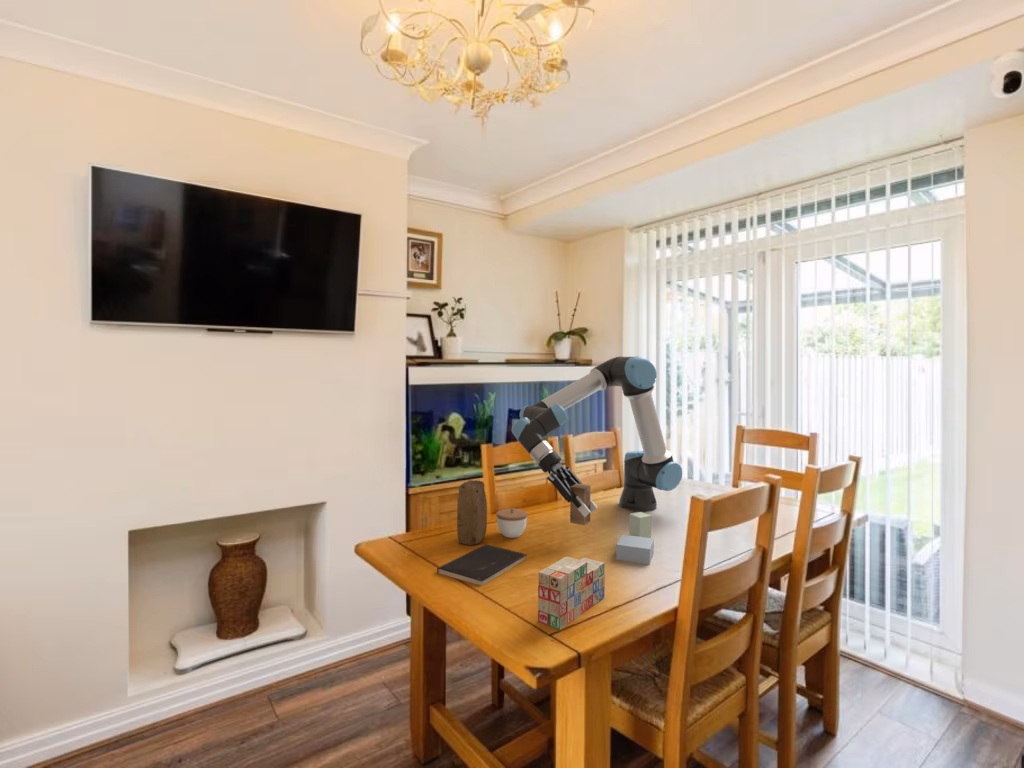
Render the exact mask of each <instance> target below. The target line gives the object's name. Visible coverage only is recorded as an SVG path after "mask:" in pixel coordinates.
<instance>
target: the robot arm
mask: <svg viewBox="0 0 1024 768" xmlns="http://www.w3.org/2000/svg"><path fill="white" fill-rule="evenodd" d="M654 364H655V363H653V362H652V361H651V360H650V359H648V358H646V357H643V356H638V355H637V356H636V355H635V356H615V357H611V358H610V359H608V360H606V361H604V362H602V363H600V364H599V365H596V366H595V367H593V368H591V369H590V371H589V373H588V374H585V375H584V376H583V377H581V378H579V379H577V380H575V381H574V382H572V383H570V384H568V385H566V386H565V387H563V388H561V389H560V390H558V391H556V392H553V394H550V395H549V396H547V397H545V398H543V399H542V400H539V401H537V402H536V403H534V404H529V405H524V406H523V407H521V409H520V411H519V419H518V420H517V421H516V422H515V423H514V424H513V425H512V426H511V432H512V435H513V436H514V437H515V439H516V440H517V442H519V443H520V445H521V446H522V447H523V449H525V451H526V452H527V453H528V454H529V455H530V457H531V458H532V460H533V461H535V463H536V464H538V467H539V469H541V471H542V472H543V473H548V476H547V477H546V478H547V480H548V481H549V482H550V483H551V484H552V486H554V488H555V489H556V490H557V492H559V494H560V495H561V497H562V498H563V499H564V500H565V501H566V502H567V503H570V501H572V503H573V504H574V505H575V506H576V508H577V509H578V510H579V511H580V512H581V514H582V515H583V516H584V517H586V516H587V515H588V514H589V513H590V514H591V513H593V512H594V511H595V510H596V509H597V508H598V506H597V504H596V503H595V502H594V501H593V500H592V498H590V510H589V509H588V508H587V506H586V505H585V504H584V503H583V501H582V500H581V499H580V498H579V497H578V496H577V497H576V495H575V494H574V492H573V490H572V489H571V488H570V487H571V486H573V485H574V484H576V483H577V484H583V483H582V481H581V480H580V479H579V478H578V477H577V475H576V474H575V473H574V472H573V471H572V469H571V468H570V466H569V465H566V466H564V465H562V463H561V460H562V458H561V456H560V455H559V453H557V451H555V450H554V448H553V446H552V445H551V444H550V443H549V441H547V440H546V437H547V436H549V434H551V433H552V432H554V431H555V430H557V429H559V428H560V427H562V425H564V424H565V423H566V422H567V421H568V414H567V411H566V410H567V409H569V408H570V407H572V406H573V405H576V404H578V403H579V402H581V401H582V400H585V399H586V398H588V397H590V396H591V395H593V394H595V393H596V392H599V391H605V390H607V389H609V388H612V387H613V388H614V387H621V390H622V393H623V396H624V397H626V398H627V399H628V401H629V403H630V407H631V411H632V414H633V417H634V422H635V425H636V429H637V432H638V437H639V440H640V444H641V447H642V448H641V449H642V450H633V451H627V452H626V453H624V461H623V463H624V464H623V473H624V474H623V488H622V491H621V494H620V497H619V500H618V501H619V503H618V504H619V507H621V508H623V509H625V510H630V511H634V512H635V511H637V512H649V511H654V510H655V509H657V505H658V504H657V498H656V496H655V493H654V489H653V488H655V489H658V491H665V492H669V491H674V489H676V488H677V487H678V486H679V485H680V482H681V480H682V479H683V468H682V467H681V464H679V463H678V462H677V461H674V457H673V454H672V452H671V451H670V450H668V449H667V447H666V443H665V440H664V436H663V432H662V429H661V424H660V420H659V417H658V414H657V413H658V412H657V409H656V405H655V401H654V397H653V395H652V393H653V391H654V389H655V383H656V381H657V380H656V379H657V375H658V374H657V373H658V372H657V369H656V366H655V365H654Z"/></svg>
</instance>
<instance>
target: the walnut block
mask: <svg viewBox="0 0 1024 768" xmlns="http://www.w3.org/2000/svg"><path fill="white" fill-rule="evenodd" d="M591 486H592V485H591V484H583V483H582V484H577V483H576V484H574V485H573V486H571V487H570V488H571V489H572V490H573V492H574V494H575V495H576V497H577V496H578V497H579V498H580V499H581V500H582V501H583V503H584V504H585V505H586V506H587V508H588V509H589V510H590V499H591ZM569 503H570V504H569V505H570V507H569V509H570V510H569V511H570V513H569V514H570V515H569V517H570V519H569V520H570V521H569V522H570V524H576V525H582V526H586V525H587V524H589V522H591V512H590V513H589V514H588V515H587V516H586V517H584V516H583V515H582V514H581V512H580V511H579V510H578V509H577V508H576V506H575V505H574V504H573V503H572V501H570V502H569Z"/></svg>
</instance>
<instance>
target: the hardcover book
mask: <svg viewBox="0 0 1024 768" xmlns="http://www.w3.org/2000/svg"><path fill="white" fill-rule="evenodd" d="M527 554H528V553H527ZM527 554H526V553H523V552H520V551H514V550H511V549H508V548H507V549H506V548H502V547H498V546H494V545H491V544H483V545H482V546H481V545H480V546H479V547H477V548H475V549H473V550H470V551H469V552H467V553H464V554H463V555H461V556H459V557H457V558H455V559H453V560H451V561H449V562H447V563H444V564H442V565H441V566H439V567H437V569H436V572H437V573H436V574H441V575H443V576H447V577H451V578H454V579H457V580H460V581H464V582H467V583H469V584H473V585H477V586H479V587H480V586H481V587H482V586H484V585H485V584H486V585H487V583H489V582H490V581H492V580H494V579H495V578H498V577H500V576H501V575H502V574H504V573H505V572H507V571H509V570H510V569H512V568H514V567H515V566H517V565H519V564H521V563H522V562H524V561H525V560H526V556H528V555H527Z"/></svg>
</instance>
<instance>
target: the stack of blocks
mask: <svg viewBox="0 0 1024 768" xmlns="http://www.w3.org/2000/svg"><path fill="white" fill-rule="evenodd" d="M605 581H606V575H605V562H603V561H599V560H594V559H591V558H588V557H582V558H581V559H577V558H575V557H574V558H573V557H570V556H565V557H563V558H561V559H560V560H557V561H556V562H555V563H552V564H551V565H548V567H545V568H543V569H542V570H539V571H538V588H537V589H538V590H537V597H538V598H537V599H538V602H537V603H538V605H537V606H538V608H537V609H538V610H537V622H538V623H540V624H543V625H545V626H549V627H550V628H553V629H557V630H559V631H561V630H562V629H564V628H565V627H566V626H568V625H569V624H571V623H573V622H574V621H575V620H576V619H578V618H579V617H580V616H581V615H582V614H584V613H585V612H586V611H587V610H589V609H590V608H592V607H593V606H594V605H596V604H597V603H598V602H600V601H601V600H603V599H604V598H605V592H606V591H605V590H606V589H605V586H606V585H605V584H606V582H605Z"/></svg>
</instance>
